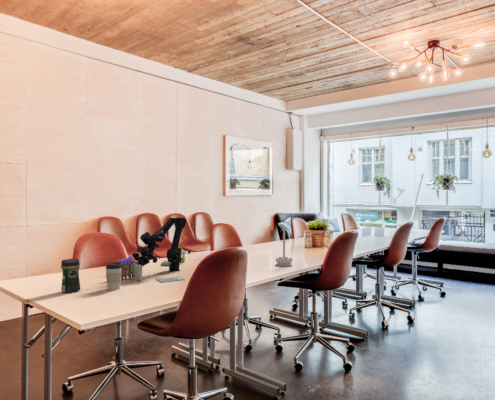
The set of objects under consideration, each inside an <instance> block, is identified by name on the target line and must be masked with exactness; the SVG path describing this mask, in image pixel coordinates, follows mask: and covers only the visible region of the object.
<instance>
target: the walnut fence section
mask: <svg viewBox="0 0 495 400" xmlns="http://www.w3.org/2000/svg"><path fill="white" fill-rule="evenodd" d="M121 267H122V268H121V281H122V280H127V279H128V280H130V279H131V280H132V272H131V263H128V265H127V264H124V265H123V264H121ZM123 270H124V274H123ZM127 270H128V274H127ZM127 277H128V278H127Z"/></svg>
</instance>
